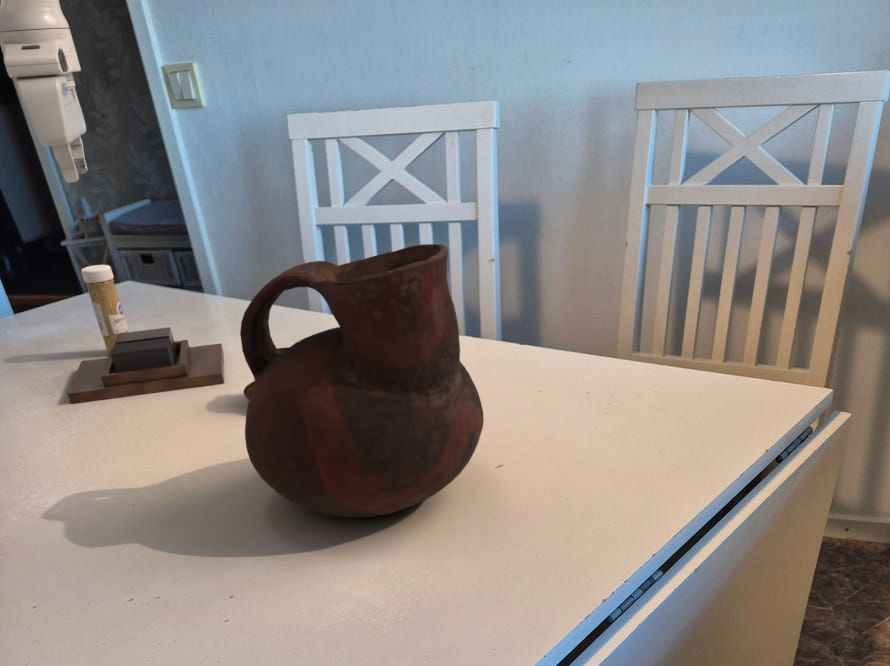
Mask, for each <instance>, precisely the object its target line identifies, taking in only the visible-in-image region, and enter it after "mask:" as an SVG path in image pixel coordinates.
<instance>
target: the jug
mask: <svg viewBox="0 0 890 666" xmlns="http://www.w3.org/2000/svg"><path fill="white" fill-rule="evenodd" d="M448 253H449V249H448V247H447V246H446V245H444V244H442V243H441V244H440V243H437V244H436V243H431V244H430V243H428V244H427V243H426V244H413V245H410V246H407V247H404V248H401V249H398V250H395V251H387V252H384V253H380V254H377V255H373V256H369V257H366V258H363V259H358V260H354V261H350V262H345V263H342V264H339V265H337V264H335V263H332V262H330V261H327V260H315V261H308V262H305V263H301V264H297V265H294V266H292V267H290V268H288V269H286V270H284V271H283V272H281V273H280V274H278V275H277V276H275V277H274V278H272V279H271V280H270V281H269V282H268V283H266V284H265V285H264V286H263V287H262V288H261V289H260V290H259V291H258V292H257V293H256V294H255V295H254V296H253V298H252V299H251V301H250V303H249V304H248V306H247V307H246V309H245V311H244V313H243V316H242V319H241V323H240V332H239V333H240V341H241V349H242V353H243V356H244V359H245V362H246V364H247V366H248V368H249V370H250V373H251V374H252V376H253V378H254V381H255V385H254V388H253V391H252V394H251V397H250V400H248V403H247V408H246V414H245V425H244V440H245V449H246V451H247V452H246V453H247V455H248V458H249V460H250V463H251V465H252V466H253V468H254V470H255V472H256V473H257V474H258V475H259V477H260V478H261V479H262V480H263V481H264V483H266V484H267V485H268V486H269V487H270V489H272V490H273V491H275V492H276V493H277V494H278V495H280V496H281V497H283V499H286V500H287V501H289V502H291V503H293V504H295V505H298V506H300V507H302V508H304V509H306V510H309V511H311V512H314V513H318V514H324V515H329V516H337V517H346V518H368V517H376V516H386V515H390V514H393V513H397V512H399V511H402V510H404V509H407V508H410V507H412V506H413V507H414V506H415V505H418V504H420V503H423V502H424V501H426V500H428V499H430V498H431V497H433V496H435V495H436V494H438V493H439V492H440V491H442V490H443V489H445V488H446V487H447V486H449V484H451V483H452V482H453V481H454V480H455V479H456V478H457V477H458V476H459V475H460V474H461V473H462V472H463V470H464V469H465V468H466V466H468V464H469V462H470V460H471V459H472V457H473V455H474V454H475V451H476V449H477V447H478V444H479V442H480V438H481V436H482V431H483V429H484V421H485V419H484V409H483V405H482V400H481V398H480V395H479V394H480V393H479V391H478V389H477V387H476V385H475V383H474V380H473V379H472V377H471V374H470V372H468V370H467V368H466V367H465V365H464V364H463V362H461V344H460V343H461V342H460V329H459V321H458V317H457V312H456V308H455V304H454V301H453V298H452V296H451V293H450V289H449V288H450V287H449V284H448V283H449V281H448V272H447V271H448V256H449V255H448ZM296 288H297V289H298V288H310V289H311V290H312V289H313V290H314V291H316V292H317V293H319V295H321V297H322V298H323V300H325V302H326V304H327V306H328V308H329V310H330V312H331V314H332V316H333V317H334V319H335V321H336V323H337V324H338V326H336V327H333V328H329V329H326V330H322V331H320V332H316V333H315V334H314V333H313V334H311V335H308V336H306V337H304V338H302V339H300V340H299V341H297V342H294V343H293V344H292V345H290V346H288V347H289V348H288V349H287V350H286V351H285V352H283V353H281V352H279V351H278V350H277V348H278V347H276V345H275V343H274V340H273V338H272V336H271V329H270V324H269V322H270V315H271V314H270V313H271V309H272V307H273V306H274V304H275V303H276V302H277V300H278V299H279V297H280V296H281V295H282V294H284V292H285V291H289V290H293V289H296Z"/></svg>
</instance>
